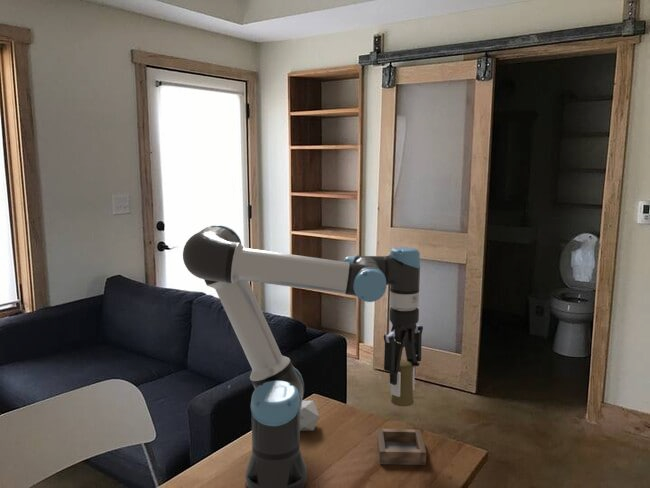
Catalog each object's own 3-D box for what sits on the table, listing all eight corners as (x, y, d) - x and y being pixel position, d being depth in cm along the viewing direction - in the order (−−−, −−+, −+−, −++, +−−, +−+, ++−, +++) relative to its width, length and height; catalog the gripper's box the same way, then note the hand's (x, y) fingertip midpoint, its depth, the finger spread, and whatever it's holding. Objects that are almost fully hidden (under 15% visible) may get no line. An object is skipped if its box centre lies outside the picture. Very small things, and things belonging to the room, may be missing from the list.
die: (284, 427, 161) (283, 411, 154) (302, 404, 166) (301, 388, 159) (307, 443, 158) (307, 428, 150) (324, 419, 163) (325, 403, 156)
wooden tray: (379, 464, 140) (379, 451, 140) (377, 440, 152) (377, 428, 152) (425, 465, 140) (426, 452, 139) (419, 441, 152) (420, 429, 151)
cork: (413, 407, 140) (414, 367, 139) (390, 405, 141) (390, 365, 140) (414, 397, 146) (415, 358, 144) (391, 395, 147) (392, 357, 146)
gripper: (392, 317, 131) (391, 407, 134) (437, 303, 143) (434, 386, 147) (369, 310, 136) (368, 397, 140) (414, 298, 149) (412, 378, 152)
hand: (402, 391), depth 143 cm, fingers closed on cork, 5 cm apart
